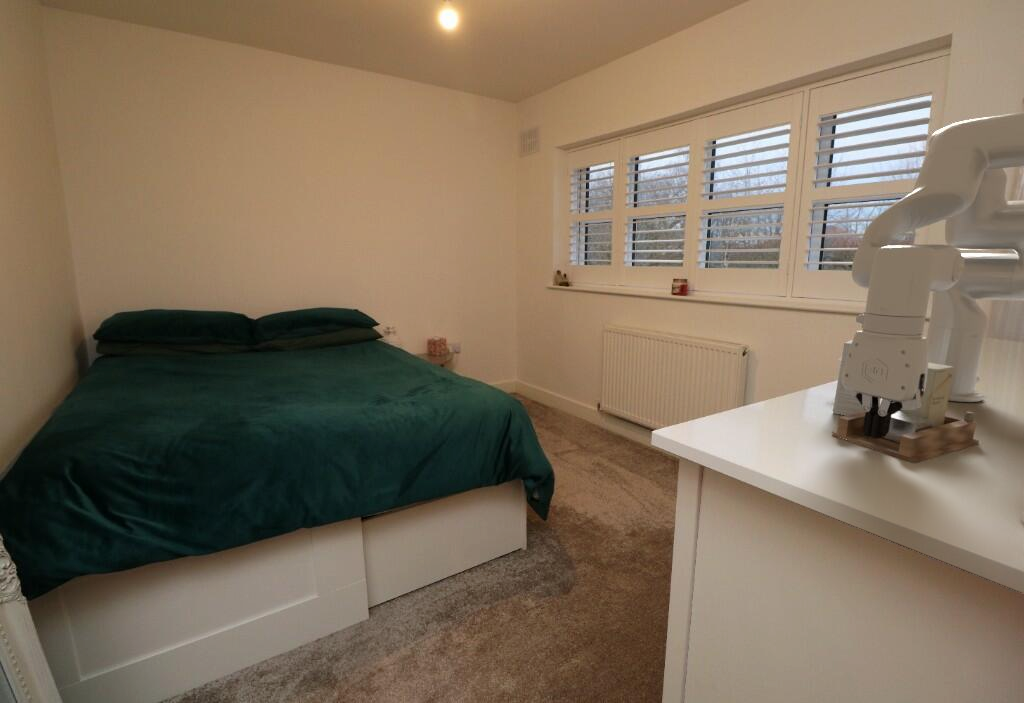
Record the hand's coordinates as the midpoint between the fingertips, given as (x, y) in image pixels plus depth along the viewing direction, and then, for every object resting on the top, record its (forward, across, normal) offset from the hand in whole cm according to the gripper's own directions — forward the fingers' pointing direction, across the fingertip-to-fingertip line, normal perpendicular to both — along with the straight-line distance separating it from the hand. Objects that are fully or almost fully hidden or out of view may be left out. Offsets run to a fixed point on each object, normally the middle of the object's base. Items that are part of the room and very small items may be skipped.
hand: (874, 435), depth 80 cm
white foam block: (+1, 0, +6) cm, 6 cm away
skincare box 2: (+2, 0, +13) cm, 13 cm away
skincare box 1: (+2, -12, +16) cm, 20 cm away
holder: (+2, 0, +9) cm, 9 cm away
